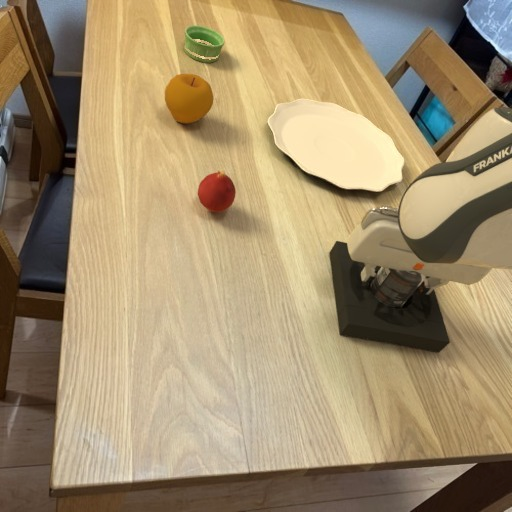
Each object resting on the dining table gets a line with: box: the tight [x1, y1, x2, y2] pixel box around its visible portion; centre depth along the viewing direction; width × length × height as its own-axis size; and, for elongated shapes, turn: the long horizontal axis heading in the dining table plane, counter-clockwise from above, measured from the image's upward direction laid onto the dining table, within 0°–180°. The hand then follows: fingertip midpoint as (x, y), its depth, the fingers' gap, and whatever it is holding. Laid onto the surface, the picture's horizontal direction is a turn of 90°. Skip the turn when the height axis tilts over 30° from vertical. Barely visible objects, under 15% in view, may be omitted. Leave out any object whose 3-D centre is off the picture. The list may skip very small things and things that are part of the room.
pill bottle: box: [368, 263, 426, 309], centre depth 73 cm, size 6×6×11 cm
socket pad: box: [328, 240, 451, 353], centre depth 76 cm, size 16×16×3 cm
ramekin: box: [183, 24, 226, 63], centre depth 111 cm, size 9×9×4 cm
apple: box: [164, 73, 215, 124], centre depth 90 cm, size 9×9×9 cm
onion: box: [197, 170, 237, 213], centre depth 76 cm, size 6×6×8 cm
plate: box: [266, 97, 406, 193], centre depth 101 cm, size 29×29×2 cm
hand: (394, 284), depth 74 cm, fingers open, 8 cm apart
